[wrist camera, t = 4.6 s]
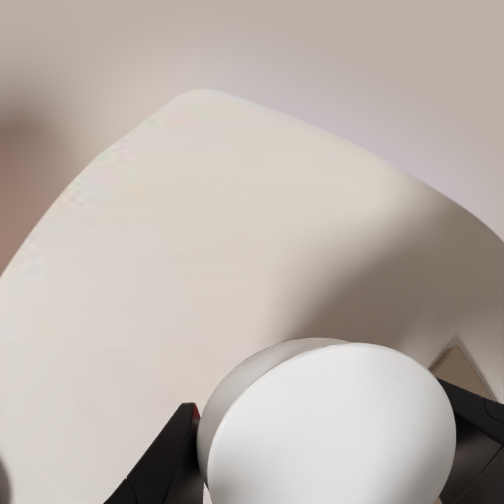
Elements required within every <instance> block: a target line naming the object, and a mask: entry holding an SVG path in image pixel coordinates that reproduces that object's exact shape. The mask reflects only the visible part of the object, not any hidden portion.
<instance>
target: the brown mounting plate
mask: <svg viewBox="0 0 504 504" xmlns="http://www.w3.org/2000/svg"><path fill="white" fill-rule="evenodd" d="M430 372H431V373H432V374H433V376H435V377H437V378H439V379H442V380H444V381H446V382H449V383H451V384H453V385H456V386H458V387H461V388H463V389H465V390H468V391H470V392H473V393H475V394H478V395H480V396H482V397H485V398H488V399H490V400H492V398H491V397H490V395H489V393H488V392H487V390H486V388H485V387H484V385H483V384H482V382H481V380H480V379H479V377H478V376H477V374H476V373H475V371H474V369H473V368H472V366H471V365H470V363H469V362H468V360H467V359H466V357H465V356H464V354H463V353H462V351H461V350H460V348H459V347H458V346H455V347H453V348H450V349H449V350H448V351H447V352H446V353H445V355H444V356H443V357H442V358H441V359H440V361H439V362H438V363H437V364H436V365H435V367H434V368H433V369H432V370H431V371H430ZM434 504H442V502H441V500H440V498H439V496H438V498H437V500H436V502H435V503H434Z"/></svg>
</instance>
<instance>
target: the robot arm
mask: <svg viewBox="0 0 504 504" xmlns="http://www.w3.org/2000/svg"><path fill="white" fill-rule="evenodd" d="M434 377H435V376H434ZM435 378H436V379H437V380H438V382H439V383H440V385H441V386H442V387H443V389H444V391H445V393H446V395H447V397H448V399H449V401H450V404H451V407H452V410H453V414H454V419H455V425H456V447H455V454H454V459H453V463H452V467H451V471H450V473H449V476H448V478H447V481H446V483H445V485H444V487H443V489H442V491H441V493H440V495H439V498H440V500H441V502H442V504H504V404H501V403H498V402H495V401H493V400H490V399H488V398H485V397H482V396H480V395H478V394H475V393H473V392H470V391H468V390H465V389H463V388H461V387H458V386H456V385H453V384H451V383H449V382H446V381H444V380H442V379H439V378H437V377H435ZM200 418H201V417H200V415H199V412H198V409H197V406H196V404H195V403H193V402H191V403H182V404H181V405H180V406H179V408H178V409H177V410H176V412H175V413H174V414H173V416H172V417H171V418H170V420H169V421H168V423H167V424H166V425H165V427H164V428H163V429H162V431H161V432H160V433H159V435H158V436H157V437H156V439H155V440H154V441H153V443H152V444H151V445H150V447H149V448H148V449H147V451H146V452H145V453H144V455H143V456H142V457H141V458H140V460H139V461H138V462H137V464H136V465H135V466H134V468H133V469H132V470H131V472H130V473H129V474H128V475H127V479H126V478H125V479H124V480H123V482H122V483H121V484H120V485H119V487H118V488H117V489H116V490H115V491H114V493H113V494H112V495H111V496H110V497H109V498H108V499H107V500H106V501H105V502H104V503H103V504H203V490H204V480H203V478H202V475H201V472H200V468H199V464H198V459H197V432H198V427H199V422H200Z"/></svg>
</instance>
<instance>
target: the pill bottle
mask: <svg viewBox="0 0 504 504" xmlns="http://www.w3.org/2000/svg"><path fill="white" fill-rule="evenodd" d="M455 447H456V425H455V419H454V414H453V410H452V407H451V404H450V401H449V399H448V397H447V395H446V393H445V391H444V389H443V387H442V386H441V385H440V383H439V382H438V380H437V379H436V378H435V377H434V376H433V374H432V373H431V372H430V371H429V370H428V369H427V368H425V367H424V366H423V365H422V364H420V363H419V362H418V361H416V360H415V359H413V358H412V357H410V356H409V355H407V354H404V353H402V352H400V351H397V350H395V349H392V348H389V347H385V346H382V345H376V344H370V343H361V342H357V343H352V342H348V341H344V340H340V339H333V338H303V339H296V340H291V341H286V342H283V343H279V344H276V345H273V346H271V347H268V348H266V349H264V350H262V351H260V352H258V353H256V354H254V355H252V356H251V357H249V358H247V359H246V360H244V361H243V362H242V363H240V364H239V365H238V366H236V367H235V368H234V369H233V370H232V371H231V372H230V373H229V374H228V375H227V376H226V377H225V378H224V379H223V380H222V381H221V382H220V384H219V385H218V386H217V388H216V389H215V390H214V392H213V393H212V395H211V397H210V398H209V400H208V402H207V404H206V406H205V408H204V411H203V413H202V416H201V418H200V422H199V427H198V432H197V459H198V464H199V468H200V472H201V475H202V478H203V480H204V482H205V484H206V486H207V488H208V490H209V493H210V497H211V500H212V503H213V504H434V503H435V502H436V500H437V498H438V496H439V495H440V493H441V491H442V489H443V487H444V485H445V483H446V481H447V478H448V476H449V473H450V471H451V467H452V463H453V459H454V454H455Z"/></svg>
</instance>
